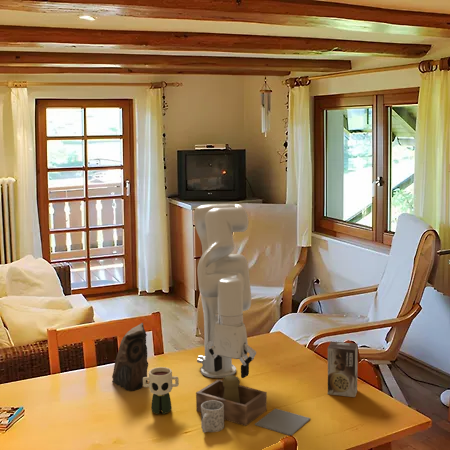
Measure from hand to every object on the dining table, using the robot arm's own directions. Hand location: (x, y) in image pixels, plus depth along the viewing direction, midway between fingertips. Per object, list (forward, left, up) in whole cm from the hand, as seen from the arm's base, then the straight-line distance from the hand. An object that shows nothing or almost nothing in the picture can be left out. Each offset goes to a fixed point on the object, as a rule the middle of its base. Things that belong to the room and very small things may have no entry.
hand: (231, 373), depth 194 cm
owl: (-41, -1, -13) cm, 43 cm away
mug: (+1, -13, -13) cm, 18 cm away
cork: (0, 0, -13) cm, 13 cm away
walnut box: (0, 0, -12) cm, 12 cm away
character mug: (-18, -12, -13) cm, 25 cm away
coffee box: (+23, +31, -13) cm, 41 cm away
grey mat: (+17, +2, -12) cm, 21 cm away
